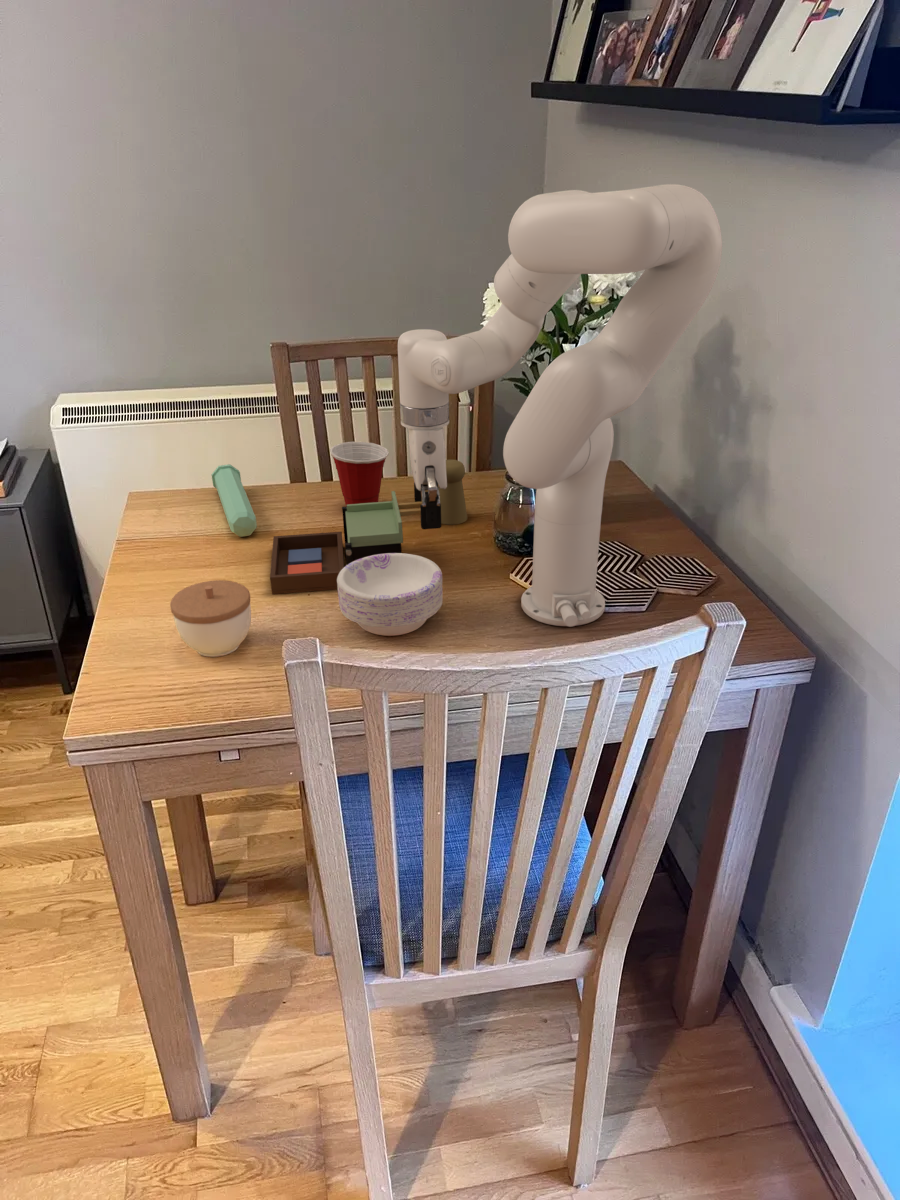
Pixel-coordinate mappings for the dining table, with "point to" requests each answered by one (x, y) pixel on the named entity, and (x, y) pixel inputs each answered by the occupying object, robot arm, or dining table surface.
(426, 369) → the robot arm
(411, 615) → the paper bowls
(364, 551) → the stand
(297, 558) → the blue sachet
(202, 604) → the trinket box
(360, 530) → the green handled tray
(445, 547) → the dining table surface
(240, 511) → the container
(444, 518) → the pepper mill
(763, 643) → the dining table surface
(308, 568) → the coral sachet
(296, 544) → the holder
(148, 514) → the dining table surface
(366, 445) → the plastic cup
